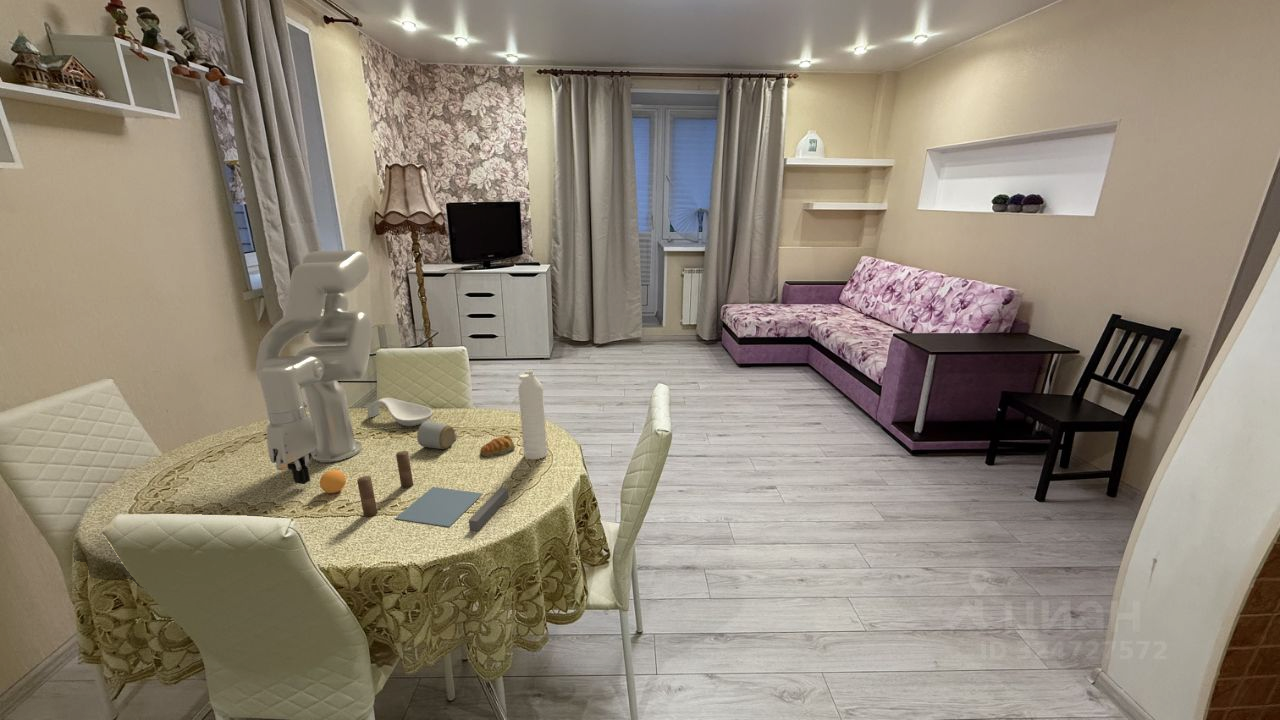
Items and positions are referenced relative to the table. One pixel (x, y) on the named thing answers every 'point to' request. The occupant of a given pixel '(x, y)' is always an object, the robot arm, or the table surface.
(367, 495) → the post
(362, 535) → the table surface
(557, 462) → the table surface
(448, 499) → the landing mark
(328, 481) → the ball
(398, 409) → the spoon rest
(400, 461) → the post
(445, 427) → the ceramic mug
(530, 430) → the water bottle
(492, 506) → the wall
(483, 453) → the pastry
